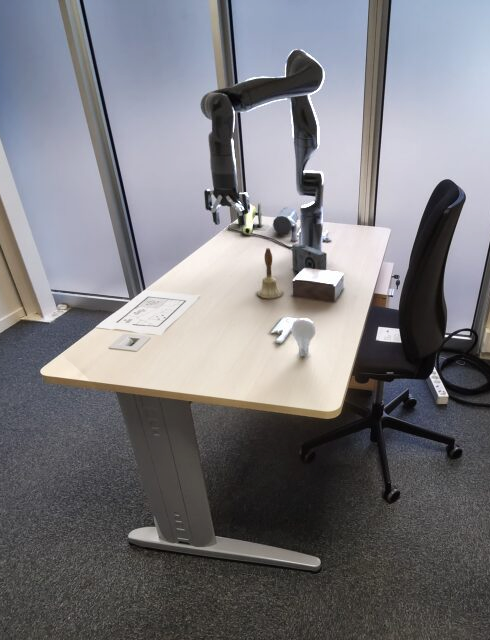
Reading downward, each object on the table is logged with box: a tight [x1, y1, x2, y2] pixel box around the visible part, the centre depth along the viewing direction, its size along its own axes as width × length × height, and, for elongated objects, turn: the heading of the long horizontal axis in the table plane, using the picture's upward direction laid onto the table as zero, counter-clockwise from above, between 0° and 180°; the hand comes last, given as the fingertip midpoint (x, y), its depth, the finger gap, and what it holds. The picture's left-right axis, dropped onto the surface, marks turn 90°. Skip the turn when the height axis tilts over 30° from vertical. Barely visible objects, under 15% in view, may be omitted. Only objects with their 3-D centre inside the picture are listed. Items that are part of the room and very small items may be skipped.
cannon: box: [236, 200, 263, 236], centre depth 217 cm, size 25×12×11 cm, turn 6°
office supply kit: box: [272, 206, 331, 243], centre depth 220 cm, size 40×28×9 cm
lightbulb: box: [290, 317, 316, 357], centre depth 118 cm, size 6×6×11 cm
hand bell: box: [257, 247, 283, 299], centre depth 150 cm, size 8×8×16 cm
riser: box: [292, 268, 345, 303], centre depth 156 cm, size 15×13×6 cm
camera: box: [291, 242, 328, 273], centre depth 170 cm, size 16×4×10 cm, turn 47°
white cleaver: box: [270, 316, 298, 344], centre depth 132 cm, size 5×15×1 cm, turn 168°
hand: (229, 225), depth 144 cm, fingers open, 8 cm apart
